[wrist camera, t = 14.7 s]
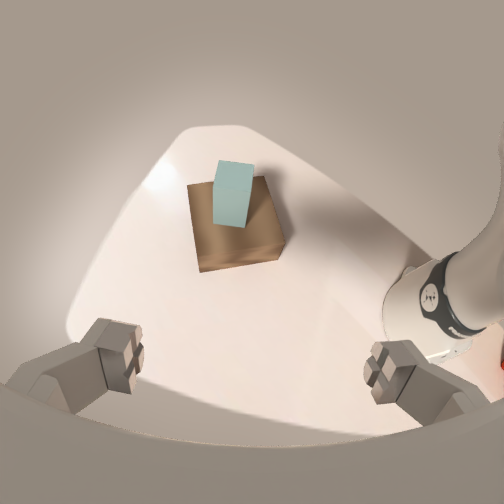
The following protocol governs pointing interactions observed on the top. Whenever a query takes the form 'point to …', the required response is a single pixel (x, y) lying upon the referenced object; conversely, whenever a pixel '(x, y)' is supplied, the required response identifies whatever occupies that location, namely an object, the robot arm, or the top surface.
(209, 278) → the top surface
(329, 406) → the top surface
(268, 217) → the walnut block
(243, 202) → the tea tin
